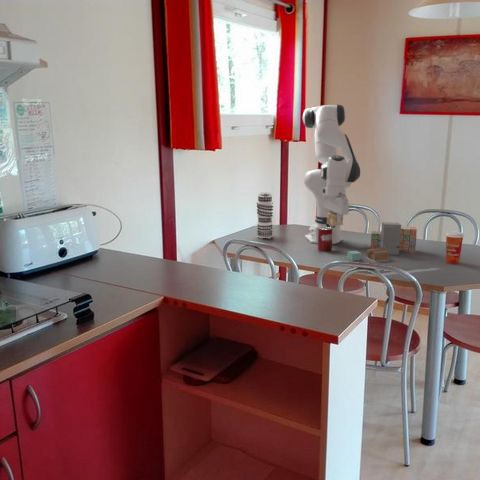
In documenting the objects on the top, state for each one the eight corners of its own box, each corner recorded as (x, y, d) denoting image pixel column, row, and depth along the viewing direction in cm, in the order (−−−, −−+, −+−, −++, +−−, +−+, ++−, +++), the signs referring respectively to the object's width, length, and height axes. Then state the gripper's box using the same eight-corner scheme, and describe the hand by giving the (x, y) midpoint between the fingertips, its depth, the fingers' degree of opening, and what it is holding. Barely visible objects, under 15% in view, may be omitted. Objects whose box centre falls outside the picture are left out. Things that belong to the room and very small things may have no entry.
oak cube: (326, 223, 252) (327, 213, 250) (337, 222, 253) (337, 212, 252) (332, 225, 247) (332, 215, 245) (342, 225, 248) (343, 214, 247)
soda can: (314, 250, 269) (315, 227, 267) (327, 249, 272) (328, 226, 269) (321, 253, 263) (322, 230, 260) (334, 252, 265) (335, 228, 262)
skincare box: (382, 256, 256) (383, 224, 253) (379, 252, 263) (380, 221, 260) (400, 256, 256) (402, 224, 252) (396, 253, 263) (398, 221, 259)
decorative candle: (256, 235, 304) (256, 191, 298) (272, 235, 304) (273, 191, 298) (256, 238, 295) (256, 194, 290) (273, 238, 295) (273, 194, 289)
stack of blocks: (370, 251, 267) (371, 227, 264) (370, 248, 273) (371, 225, 270) (415, 253, 262) (417, 229, 259) (414, 250, 268) (415, 226, 265)
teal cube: (347, 260, 251) (347, 251, 249) (355, 259, 252) (356, 250, 251) (351, 263, 246) (352, 253, 245) (360, 262, 248) (361, 253, 246)
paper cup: (440, 262, 246) (442, 232, 242) (447, 259, 251) (450, 230, 248) (457, 265, 240) (459, 235, 237) (464, 262, 246) (467, 232, 242)
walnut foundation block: (366, 257, 251) (367, 249, 250) (380, 256, 253) (380, 248, 252) (374, 261, 245) (375, 252, 244) (388, 260, 247) (388, 251, 246)
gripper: (352, 194, 237) (351, 224, 241) (332, 188, 256) (331, 216, 260) (340, 195, 236) (338, 225, 239) (320, 188, 255) (319, 216, 258)
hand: (334, 220), depth 249 cm, fingers closed on oak cube, 5 cm apart
